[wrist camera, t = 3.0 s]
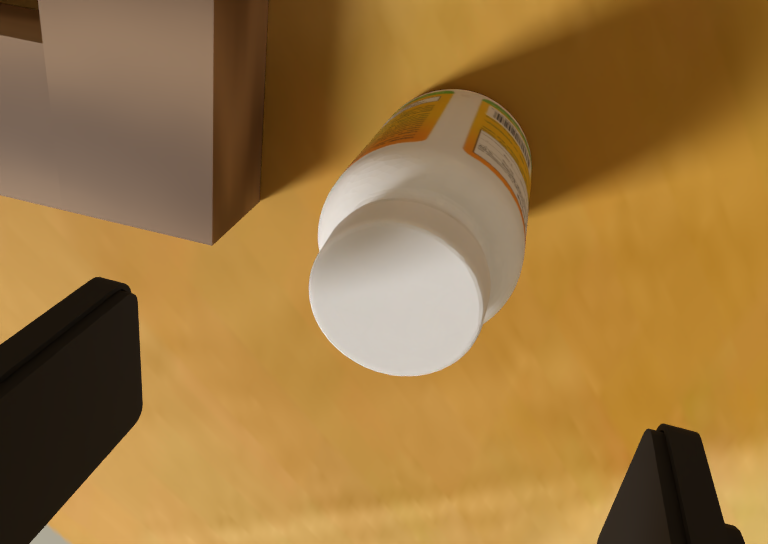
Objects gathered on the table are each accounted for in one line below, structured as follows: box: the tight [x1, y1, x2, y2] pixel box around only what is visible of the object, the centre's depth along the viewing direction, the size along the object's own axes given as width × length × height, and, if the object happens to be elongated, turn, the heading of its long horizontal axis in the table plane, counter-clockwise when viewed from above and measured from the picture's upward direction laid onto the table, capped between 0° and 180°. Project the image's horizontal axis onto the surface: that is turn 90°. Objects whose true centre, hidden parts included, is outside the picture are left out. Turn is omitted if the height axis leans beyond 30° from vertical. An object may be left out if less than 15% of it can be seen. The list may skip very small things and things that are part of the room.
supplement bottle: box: [309, 89, 532, 376], centre depth 19 cm, size 5×5×10 cm
